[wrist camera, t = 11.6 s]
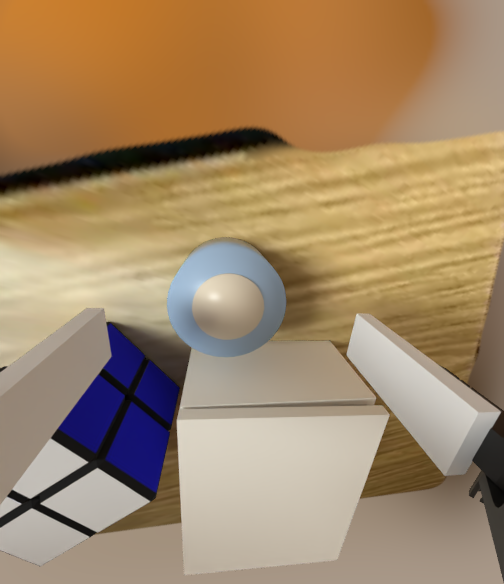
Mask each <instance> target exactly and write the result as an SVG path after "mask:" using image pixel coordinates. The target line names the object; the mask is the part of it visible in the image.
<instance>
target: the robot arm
mask: <svg viewBox="0 0 504 584" xmlns="http://www.w3.org/2000/svg"><path fill="white" fill-rule="evenodd" d="M346 355H347V357H348V358H349V359H350V360H351V362H352V363H353V364H354V365H355V366H356V368H357V369H358V370H359V371H360V373H361V374H362V375H363V376H364V378H365V379H366V380H367V381H368V382H369V384H370V385H371V386H372V387H373V389H374V390H375V391H376V392H377V393H378V395H379V396H380V397H381V398H382V400H383V401H384V402H385V403H386V404H387V406H388V407H389V408H390V409H391V411H392V412H393V413H394V414H395V416H396V417H397V418H398V419H399V420H400V422H401V423H402V424H403V425H404V427H405V428H406V429H407V430H408V431H409V433H410V434H411V435H412V436H413V438H414V439H415V440H416V441H417V442H418V444H419V445H420V446H421V447H422V449H423V450H424V451H425V452H426V454H427V455H428V456H429V457H430V458H431V460H432V461H433V462H434V463H435V465H436V466H437V467H438V468H439V469H440V471H441V472H442V473H443V474H444V476H450V475H462V474H465V473H466V472H467V470H468V468H469V466H470V464H471V463H472V461H473V462H474V463H475V464H476V465H477V466H478V467H479V468H480V469H481V472H480V474H479V475H478V477H477V479H476V480H475V482H474V484H473V485H472V487H471V488H470V490H469V496H471V497H472V498H474V496H475V495H476V493H477V491H481V493H482V498H481V499H480V502H482V503H484V505H485V509H486V513H487V517H488V521H489V525H490V529H491V533H492V537H493V541H494V545H495V549H496V553H497V557H498V561H499V565H500V569H501V573H502V577H503V581H504V411H503V410H502V409H500V408H499V407H498V406H496V405H495V404H494V403H492V402H491V401H489V400H488V399H487V398H485V397H484V396H483V395H481V394H480V393H478V392H477V391H476V390H475V389H473V388H470V386H469V385H468V384H466V383H465V382H464V381H462V380H459V378H458V377H457V376H456V375H454V374H453V373H451V372H450V371H449V370H447V369H446V368H444V367H442V366H440V365H438V364H436V363H435V362H434V361H432V360H431V359H430V358H428V357H427V356H426V355H424V354H423V353H422V352H420V351H419V350H418V349H416V348H415V347H414V346H412V345H411V344H410V343H408V342H407V341H405V340H404V339H403V338H401V337H400V336H399V335H397V334H396V333H395V332H393V331H392V330H391V329H389V328H388V327H387V326H385V325H384V324H383V323H381V322H380V321H379V320H377V319H376V318H375V317H373V316H372V315H371V314H358V313H357V315H356V319H355V323H354V327H353V331H352V335H351V338H350V342H349V346H348V350H347V354H346ZM110 358H111V350H110V343H109V337H108V331H107V324H106V318H105V312H104V308H86V309H85V310H83V311H82V312H81V313H79V314H78V315H77V316H75V317H74V318H73V319H71V320H70V321H69V322H67V323H66V324H65V325H63V326H62V327H61V328H59V329H58V330H57V331H55V332H54V333H53V334H51V335H50V336H49V337H47V338H46V339H44V340H43V341H42V342H40V343H39V344H38V345H36V346H35V347H34V348H32V349H31V350H30V351H28V352H27V353H26V354H24V355H23V356H22V357H20V358H19V359H18V360H16V361H15V362H14V363H12V364H11V365H10V366H8V367H2V368H0V505H1V503H2V502H3V501H4V499H5V498H6V497H7V495H8V494H9V493H10V491H11V490H12V489H13V487H14V486H15V485H16V483H17V482H18V481H19V479H20V478H21V477H22V475H23V474H24V473H25V471H26V470H27V469H28V467H29V466H30V465H31V463H32V462H33V461H34V459H35V458H36V457H37V455H38V454H39V453H40V451H41V450H42V449H43V447H44V446H45V445H46V443H47V442H48V441H49V439H50V438H51V437H52V435H53V434H54V433H55V431H56V430H57V429H58V427H59V426H60V425H61V423H62V422H63V421H64V419H65V418H66V417H67V415H68V414H69V413H70V411H71V410H72V409H73V407H74V406H75V405H76V403H77V402H78V401H79V399H80V398H81V397H82V395H83V394H84V393H85V391H86V390H87V389H88V387H89V386H90V385H91V383H92V382H93V380H94V379H95V378H96V376H97V375H98V374H99V372H100V371H101V370H102V368H103V367H104V366H105V364H106V363H107V362H108V360H109V359H110Z"/></svg>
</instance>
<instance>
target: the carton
mask: <svg viewBox="0 0 504 584" xmlns="http://www.w3.org/2000/svg"><path fill="white" fill-rule="evenodd" d="M375 401H376V397H375V395H374V394H373V393H372V392H371V390H370V389H369V388H368V387H367V386H366V384H365V383H364V382H363V381H362V379H361V378H360V377H359V376H358V375H357V373H356V372H355V371H354V370H353V368H352V367H351V366H350V365H349V364H348V362H347V361H346V360H345V359H344V357H343V356H342V355H341V354H340V353H339V351H338V350H337V349H336V348H335V346H334V345H333V344H332V343H331V341H268V342H267V343H265V344H264V345H263V346H261V347H260V348H258V349H256V350H254V351H252V352H250V353H247V354H244V355H241V356H235V357H216V356H211V355H207V354H204V353H202V352H199V351H197V350H195V349H193V348H192V349H191V354H190V359H189V364H188V369H187V374H186V379H185V384H184V389H183V394H182V398H181V403H180V409H214V408H266V407H318V406H370V405H374V404H375Z"/></svg>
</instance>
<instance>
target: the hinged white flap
mask: <svg viewBox="0 0 504 584" xmlns="http://www.w3.org/2000/svg"><path fill="white" fill-rule="evenodd" d="M389 416H390V414H389V413H388V412H387V411H386V409H385V408H384V407H383V405H370V406H318V407H266V408H214V409H179V413H178V417H177V437H178V457H179V478H180V499H181V520H182V539H183V540H182V541H183V561H184V575H192V574H203V573H212V572H223V571H233V570H243V569H253V568H264V567H274V566H284V565H293V564H304V563H314V562H325V561H335V560H337V559H338V556H339V554H340V551H341V548H342V545H343V543H344V540H345V537H346V534H347V531H348V529H349V526H350V523H351V520H352V517H353V514H354V512H355V509H356V507H357V504H358V501H359V498H360V496H361V493H362V490H363V487H364V485H365V482H366V479H367V476H368V474H369V471H370V468H371V465H372V462H373V460H374V457H375V454H376V451H377V449H378V446H379V443H380V440H381V438H382V435H383V432H384V429H385V427H386V424H387V421H388V418H389Z"/></svg>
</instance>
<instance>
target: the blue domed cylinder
mask: <svg viewBox="0 0 504 584" xmlns="http://www.w3.org/2000/svg"><path fill="white" fill-rule="evenodd" d="M167 309H168V315H169V319H170V322H171V324H172V326H173V328H174V330H175V331H176V333H177V334H178V335H179V337H180V338H181V339H182V340H183V341H184V342H185V343H186V344H188V345H189V346H190V347H192V348H193V349H195V350H197V351H199V352H202V353H204V354H207V355H211V356H216V357H235V356H241V355H244V354H247V353H250V352H252V351H254V350H256V349H258V348H260V347H261V346H263V345H264V344H265V343H267V342H268V341H269V340H270V339H271V338H272V337H273V336H274V334H275V333H276V332H277V330H278V329H279V327H280V325H281V323H282V321H283V318H284V315H285V310H286V293H285V289H284V285H283V283H282V280H281V279H280V277H279V275H278V273H277V272H276V271H275V269H274V268H273V267H272V266H271V265H270V263H269V262H268V261H267V260H266V259H265V258H264V257H263V255H262V254H261V253H260V252H259V251H258V250H257V249H256V248H255V247H253V246H252V245H250V244H249V243H247V242H245V241H242V240H240V239H236V238H230V237H221V238H215V239H211V240H209V241H206V242H204V243H202V244H201V245H199V246H198V247H196V248H195V249H194V250H193V251H192V252H191V253H190V254H189V256H188V257H187V259H186V260H185V262H184V263H183V265H182V266H181V268H180V270H179V271H178V273H177V274H176V276H175V277H174V279H173V281H172V283H171V286H170V289H169V292H168V298H167Z"/></svg>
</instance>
